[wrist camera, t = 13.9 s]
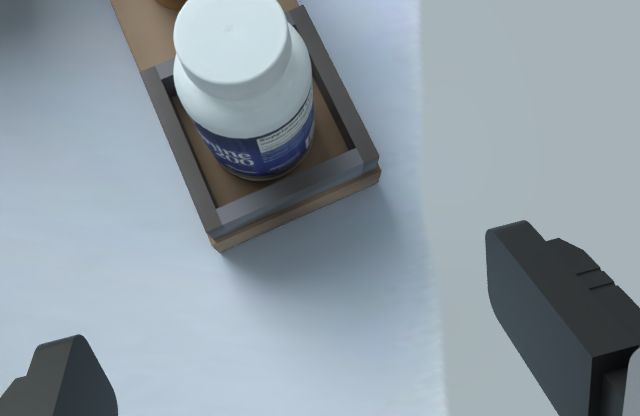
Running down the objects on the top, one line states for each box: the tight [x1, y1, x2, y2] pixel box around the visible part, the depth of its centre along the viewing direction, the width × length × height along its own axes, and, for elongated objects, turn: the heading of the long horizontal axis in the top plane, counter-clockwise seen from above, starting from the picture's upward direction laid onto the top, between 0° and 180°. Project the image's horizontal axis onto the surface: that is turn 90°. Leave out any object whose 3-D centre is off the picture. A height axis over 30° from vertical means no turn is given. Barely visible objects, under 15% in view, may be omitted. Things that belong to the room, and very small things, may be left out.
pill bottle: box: [173, 0, 315, 181], centre depth 25 cm, size 5×5×10 cm
